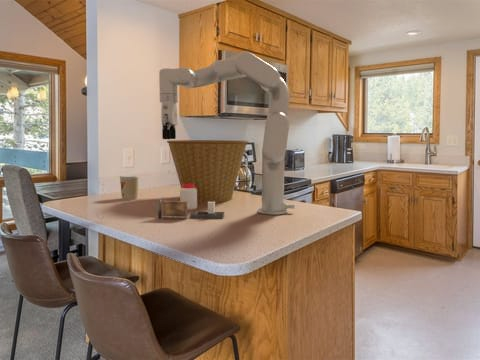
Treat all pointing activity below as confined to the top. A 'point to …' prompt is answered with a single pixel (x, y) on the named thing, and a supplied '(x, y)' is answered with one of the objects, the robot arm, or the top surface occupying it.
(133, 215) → the top surface
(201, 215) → the board
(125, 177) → the coffee cup
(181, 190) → the pill bottle
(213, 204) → the fader cap
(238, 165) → the basket
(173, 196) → the top surface
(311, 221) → the top surface
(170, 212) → the door
